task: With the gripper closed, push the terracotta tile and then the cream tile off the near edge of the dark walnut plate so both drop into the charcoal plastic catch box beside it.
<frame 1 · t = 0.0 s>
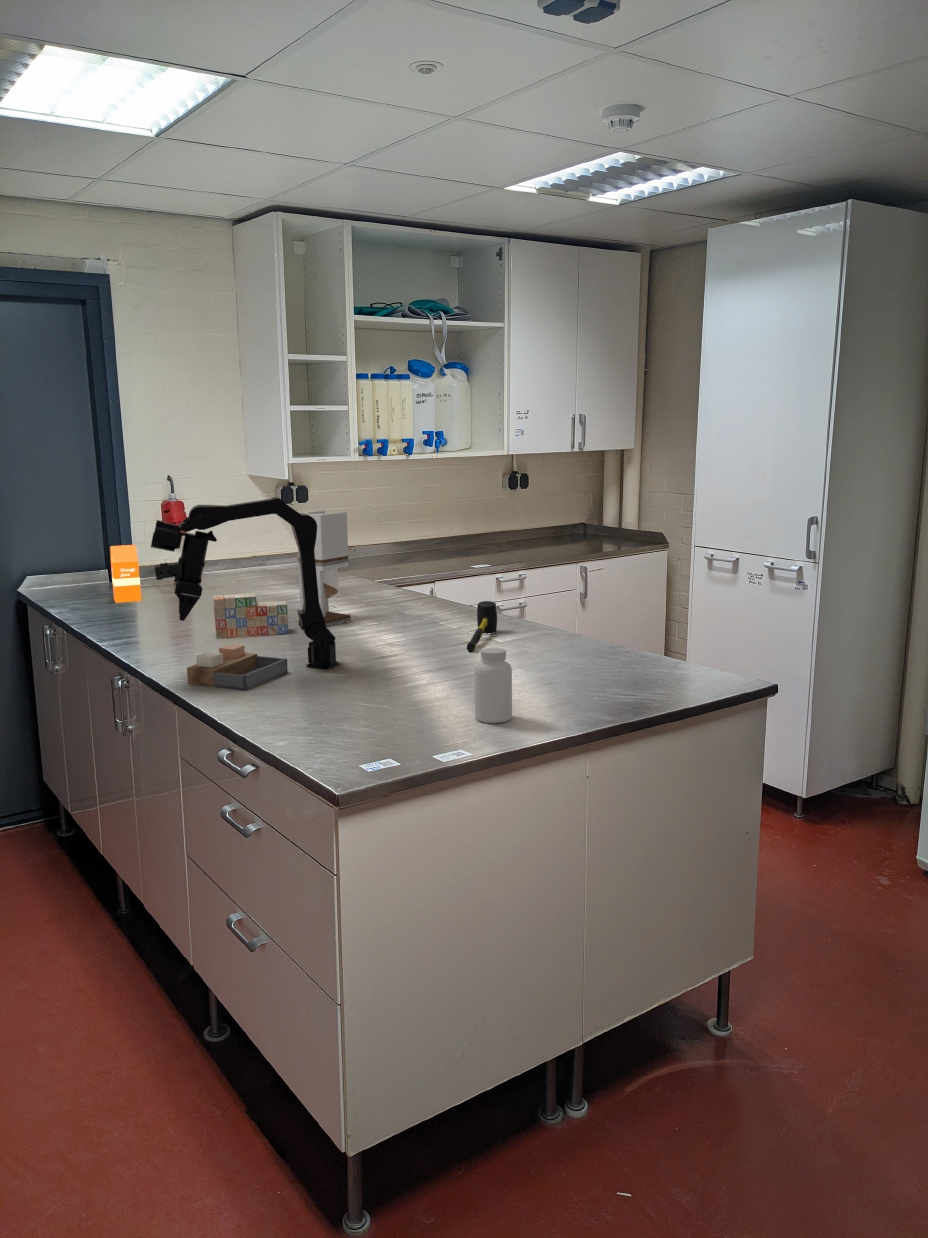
hand: (181, 616, 234), 15 cm above the worktop, tool pointing down, fingers open, 9 cm apart
tile terracotta: (232, 656, 242), point 4 cm above the worktop, touching walnut plate
pill bottle: (493, 719, 202), on the worktop
mallet: (480, 642, 274), on the worktop
tile cream: (210, 664, 233), point 4 cm above the worktop, touching walnut plate
catch box: (252, 679, 235), on the worktop
orange juice: (127, 600, 344), on the worktop
walnut plate: (224, 676, 238), on the worktop
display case: (326, 622, 301), on the worktop
stack of blocks: (252, 635, 285), on the worktop
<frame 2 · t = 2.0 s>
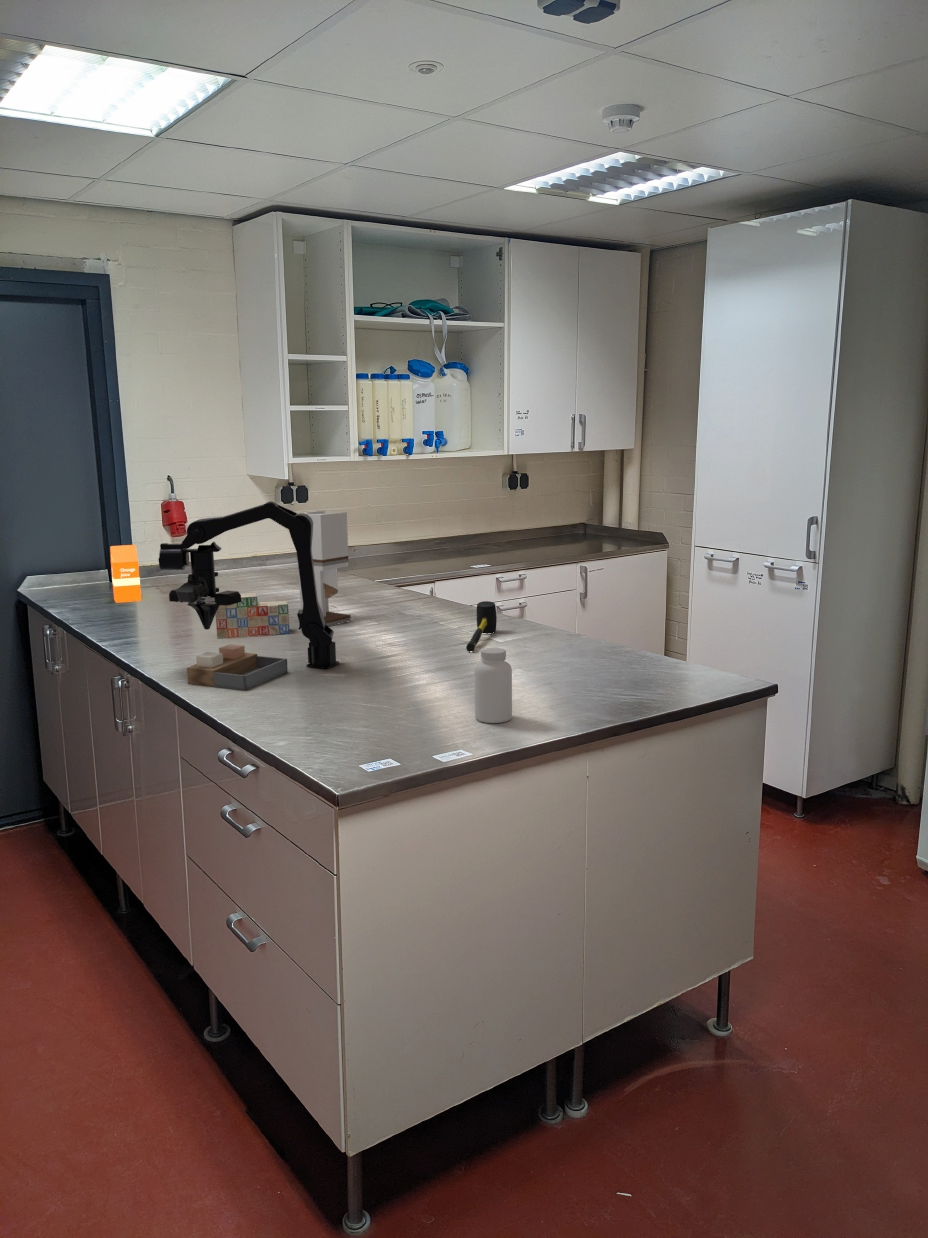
hand: (207, 629, 243), 11 cm above the worktop, tool pointing down, fingers closed
nothing on the worktop moved.
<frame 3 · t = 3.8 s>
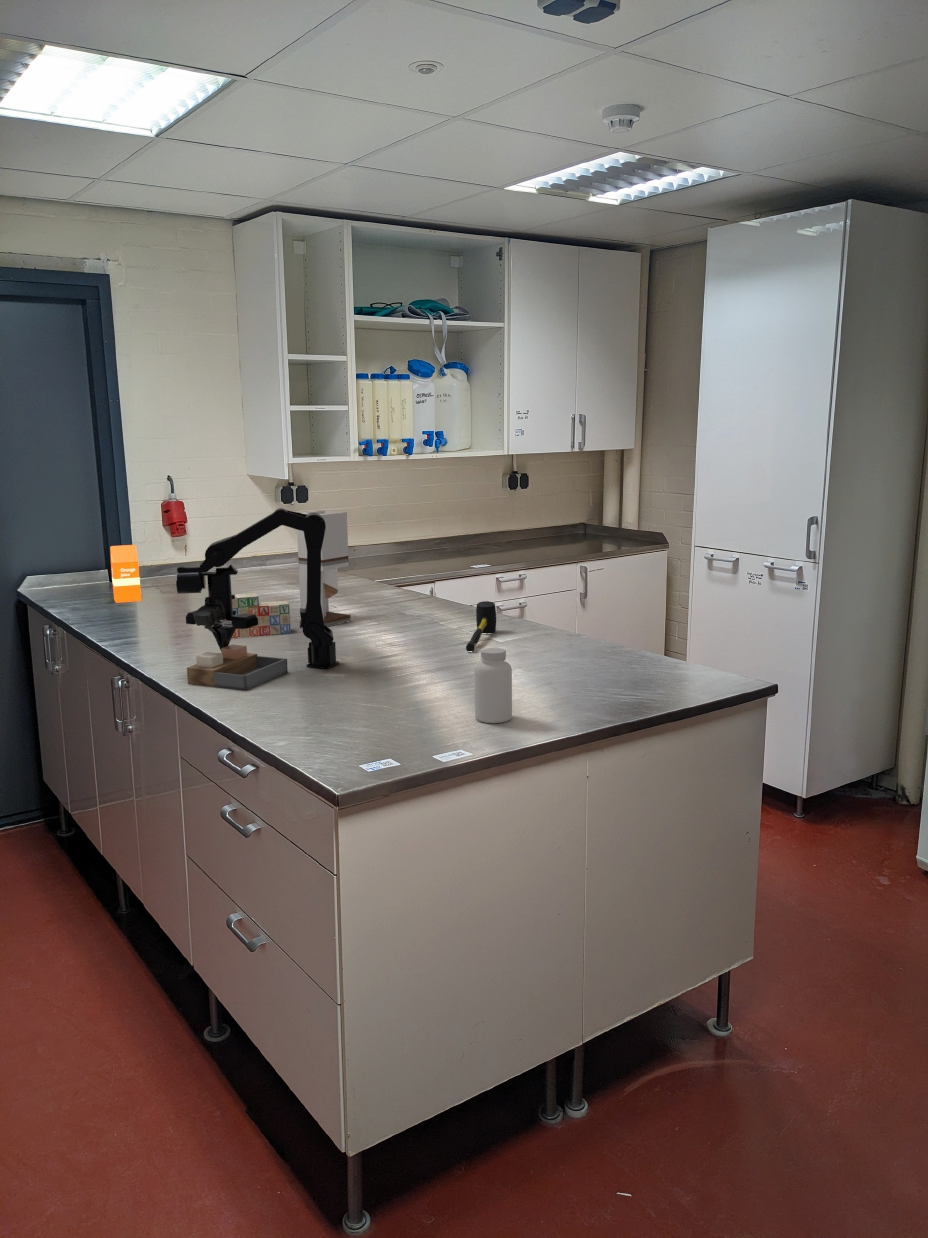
hand: (223, 651, 242), 5 cm above the worktop, tool pointing down, fingers closed
tile terracotta: (234, 656, 241), point 4 cm above the worktop, touching gripper
everything else where it was.
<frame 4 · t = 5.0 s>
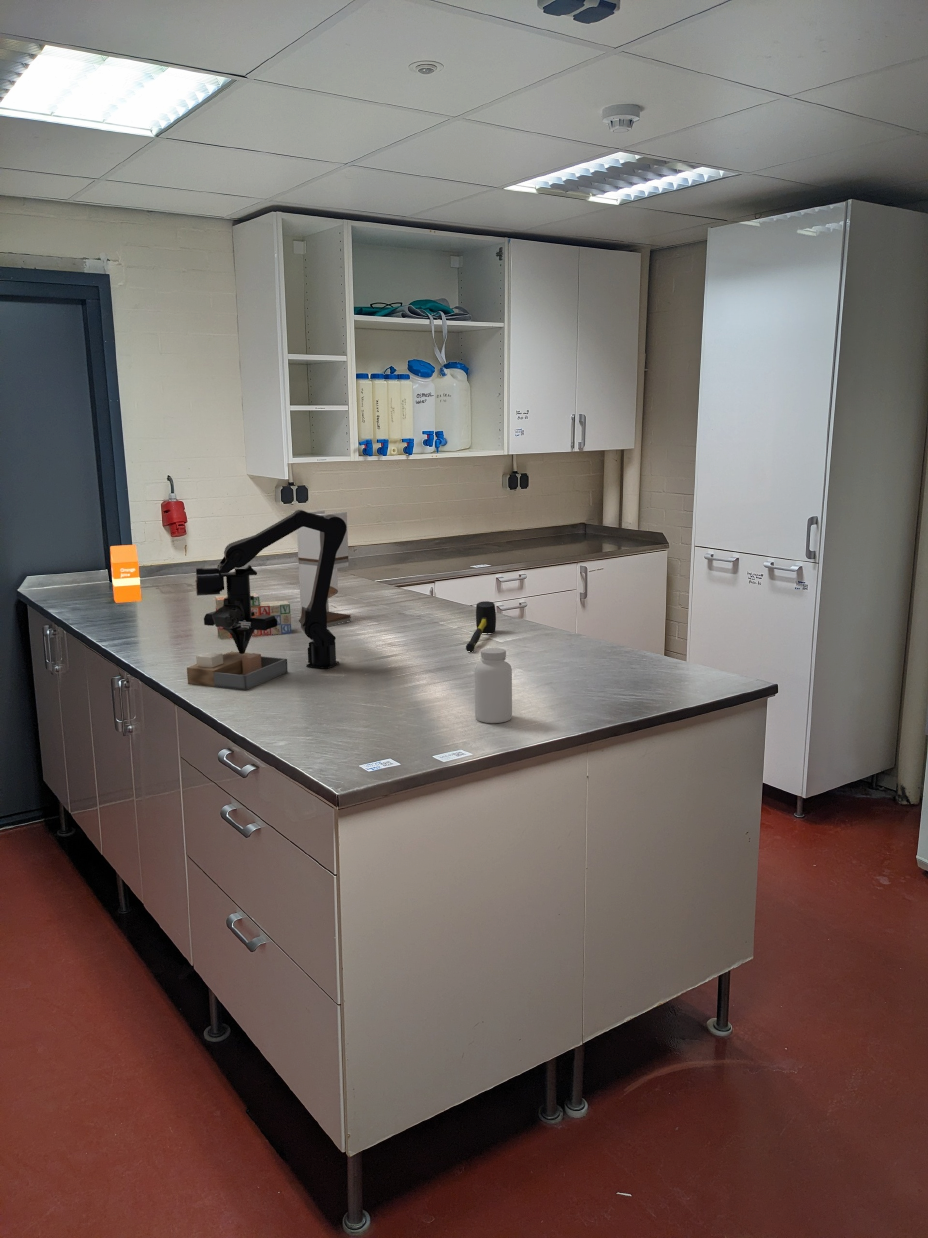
hand: (242, 653, 240), 5 cm above the worktop, tool pointing down, fingers closed
tile terracotta: (247, 663, 239), point 3 cm above the worktop, tilted 91°, touching catch box
everything else where it was.
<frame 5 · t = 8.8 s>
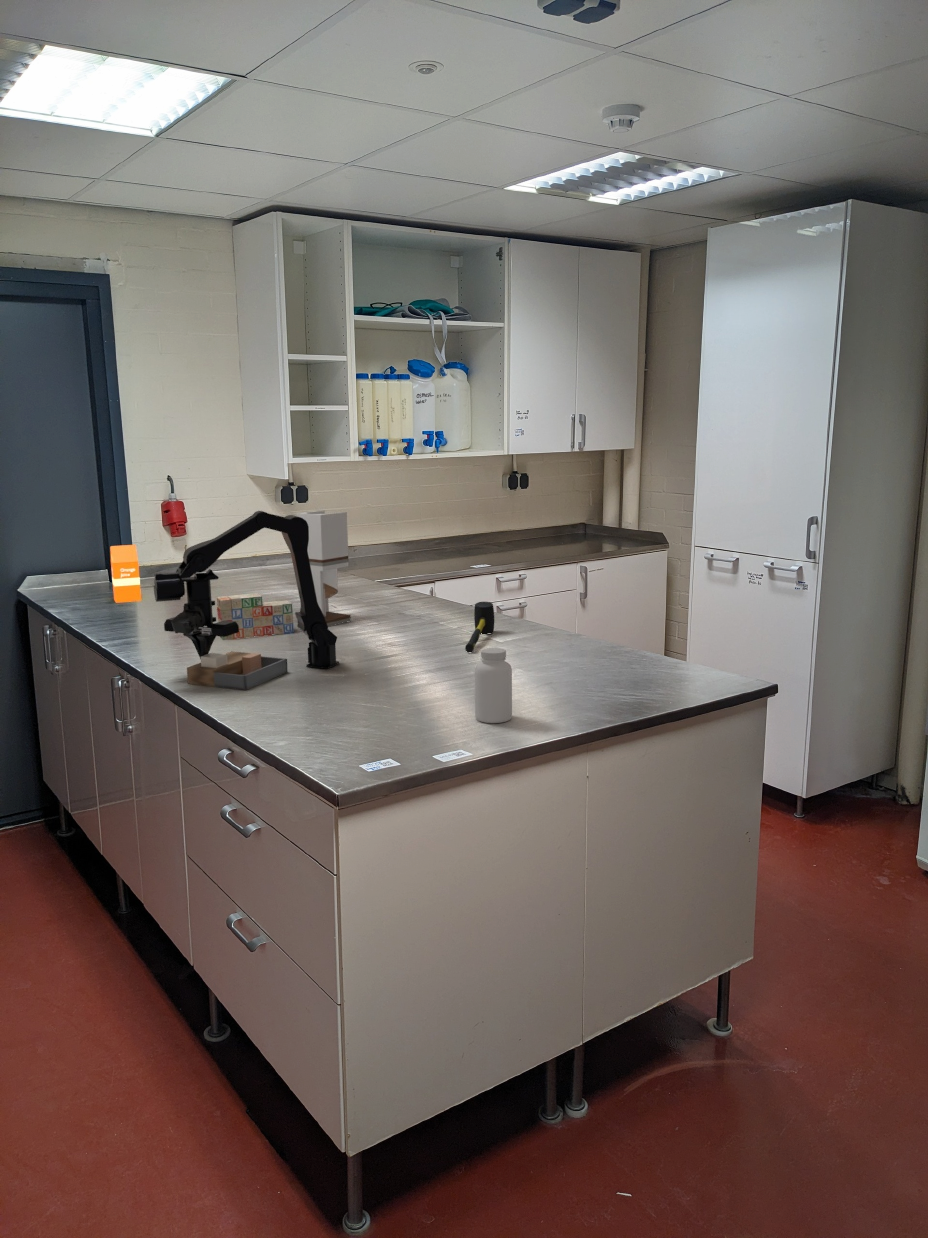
hand: (203, 660, 234), 5 cm above the worktop, tool pointing down, fingers closed
tile cream: (214, 665, 233), point 4 cm above the worktop, touching gripper, walnut plate
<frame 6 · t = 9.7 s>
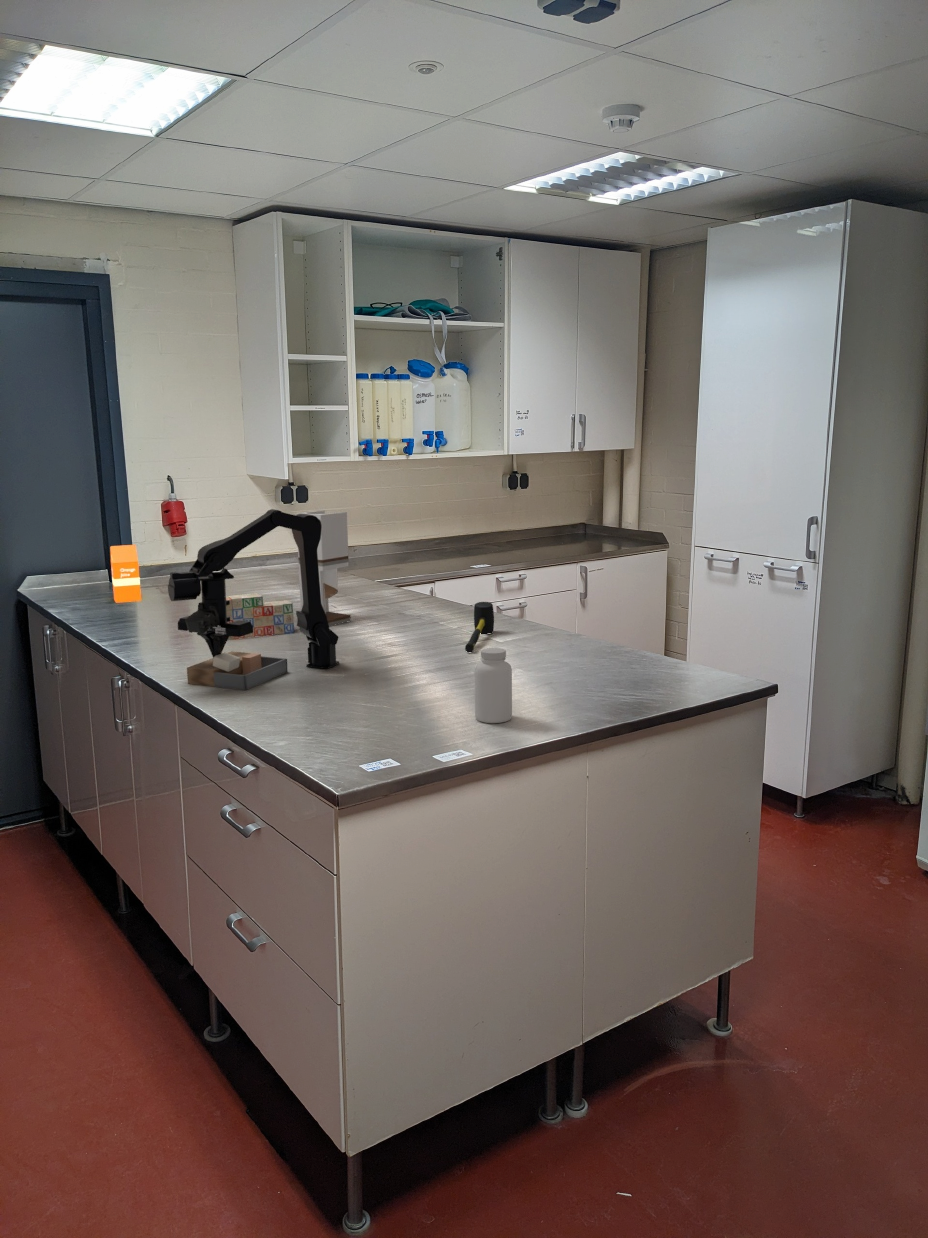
hand: (216, 660, 232), 5 cm above the worktop, tool pointing down, fingers closed
tile cream: (225, 666, 232), point 4 cm above the worktop, tilted 14°, touching gripper, walnut plate
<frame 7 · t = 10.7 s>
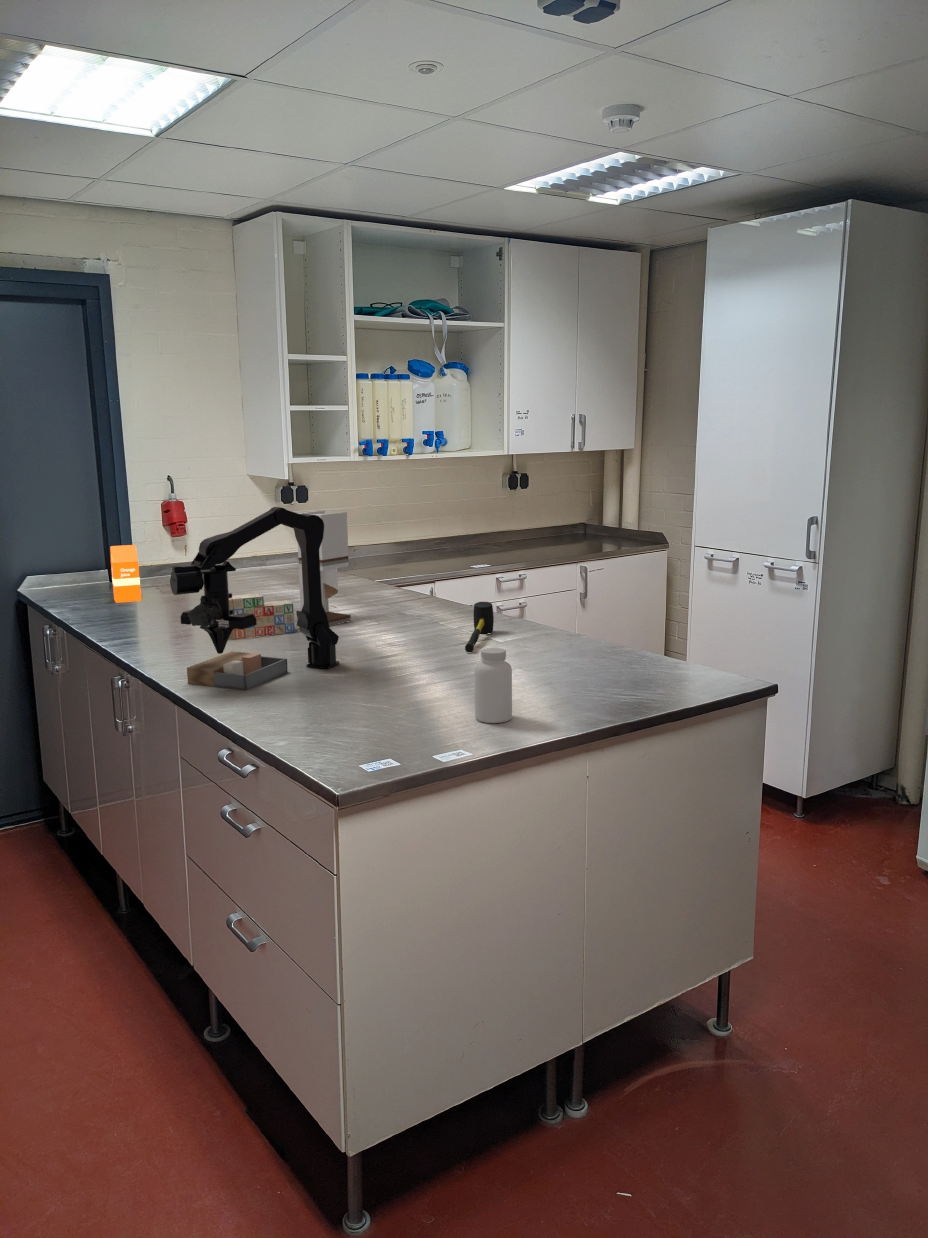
hand: (220, 653, 231), 7 cm above the worktop, tool pointing down, fingers closed
tile cream: (229, 671, 232), point 3 cm above the worktop, tilted 90°, touching catch box
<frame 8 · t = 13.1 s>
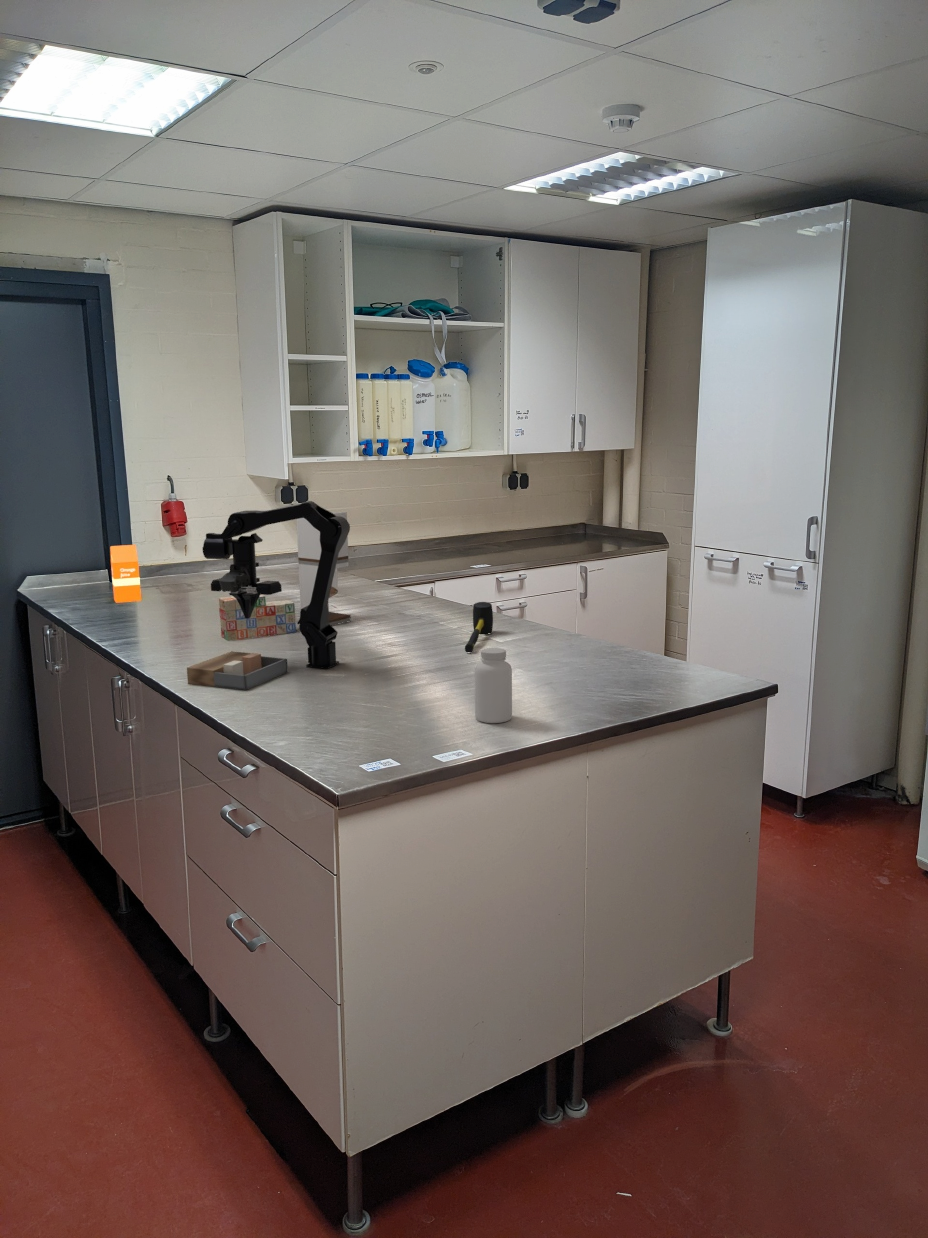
hand: (247, 618, 249), 12 cm above the worktop, tool pointing down, fingers closed
at the end: tile terracotta inside the target area (5.1 cm from its centre), point 2.7 cm above the worktop; tile cream inside the target area (5.4 cm from its centre), point 2.7 cm above the worktop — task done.
